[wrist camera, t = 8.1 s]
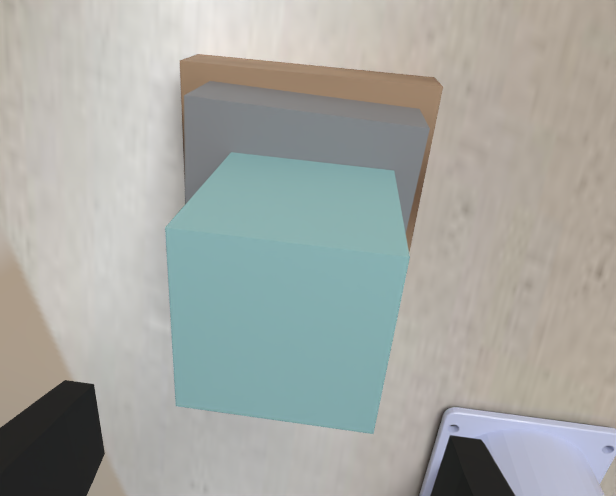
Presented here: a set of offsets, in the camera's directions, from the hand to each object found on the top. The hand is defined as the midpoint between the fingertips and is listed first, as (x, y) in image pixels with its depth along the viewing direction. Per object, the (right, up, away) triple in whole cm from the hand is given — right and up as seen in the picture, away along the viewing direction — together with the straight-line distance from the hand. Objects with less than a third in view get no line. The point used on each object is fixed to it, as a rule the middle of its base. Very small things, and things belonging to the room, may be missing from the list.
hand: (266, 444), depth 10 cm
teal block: (+1, +4, +4) cm, 6 cm away
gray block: (+1, +6, +6) cm, 9 cm away
